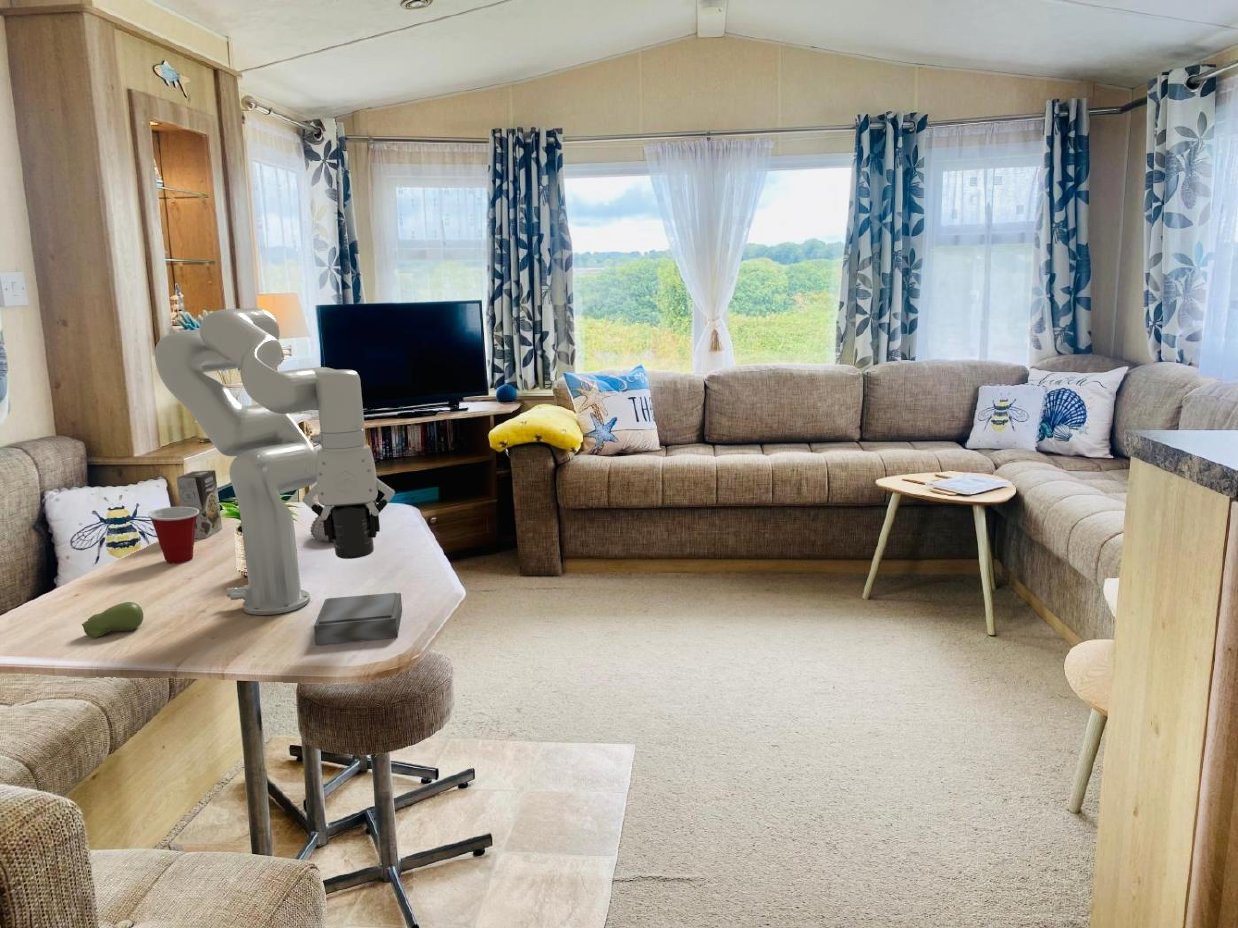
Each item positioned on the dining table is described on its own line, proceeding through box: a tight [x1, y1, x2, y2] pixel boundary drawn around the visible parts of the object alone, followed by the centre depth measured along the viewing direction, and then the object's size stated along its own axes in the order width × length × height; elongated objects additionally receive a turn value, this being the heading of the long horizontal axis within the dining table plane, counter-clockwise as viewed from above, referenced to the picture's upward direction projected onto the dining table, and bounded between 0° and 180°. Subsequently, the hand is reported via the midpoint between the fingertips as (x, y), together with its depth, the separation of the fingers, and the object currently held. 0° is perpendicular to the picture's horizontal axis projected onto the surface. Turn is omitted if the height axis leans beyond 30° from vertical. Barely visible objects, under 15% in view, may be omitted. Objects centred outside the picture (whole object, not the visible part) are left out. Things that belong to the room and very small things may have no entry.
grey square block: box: [313, 592, 403, 646], centre depth 167 cm, size 14×14×4 cm
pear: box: [81, 601, 144, 639], centre depth 169 cm, size 6×5×10 cm
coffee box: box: [176, 469, 223, 539], centre depth 236 cm, size 9×6×16 cm
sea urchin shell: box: [309, 515, 334, 542], centre depth 229 cm, size 13×14×8 cm
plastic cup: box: [148, 506, 199, 565], centre depth 213 cm, size 11×11×12 cm
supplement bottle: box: [330, 504, 375, 560], centre depth 164 cm, size 7×7×12 cm
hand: (352, 536), depth 164 cm, fingers closed on supplement bottle, 6 cm apart
